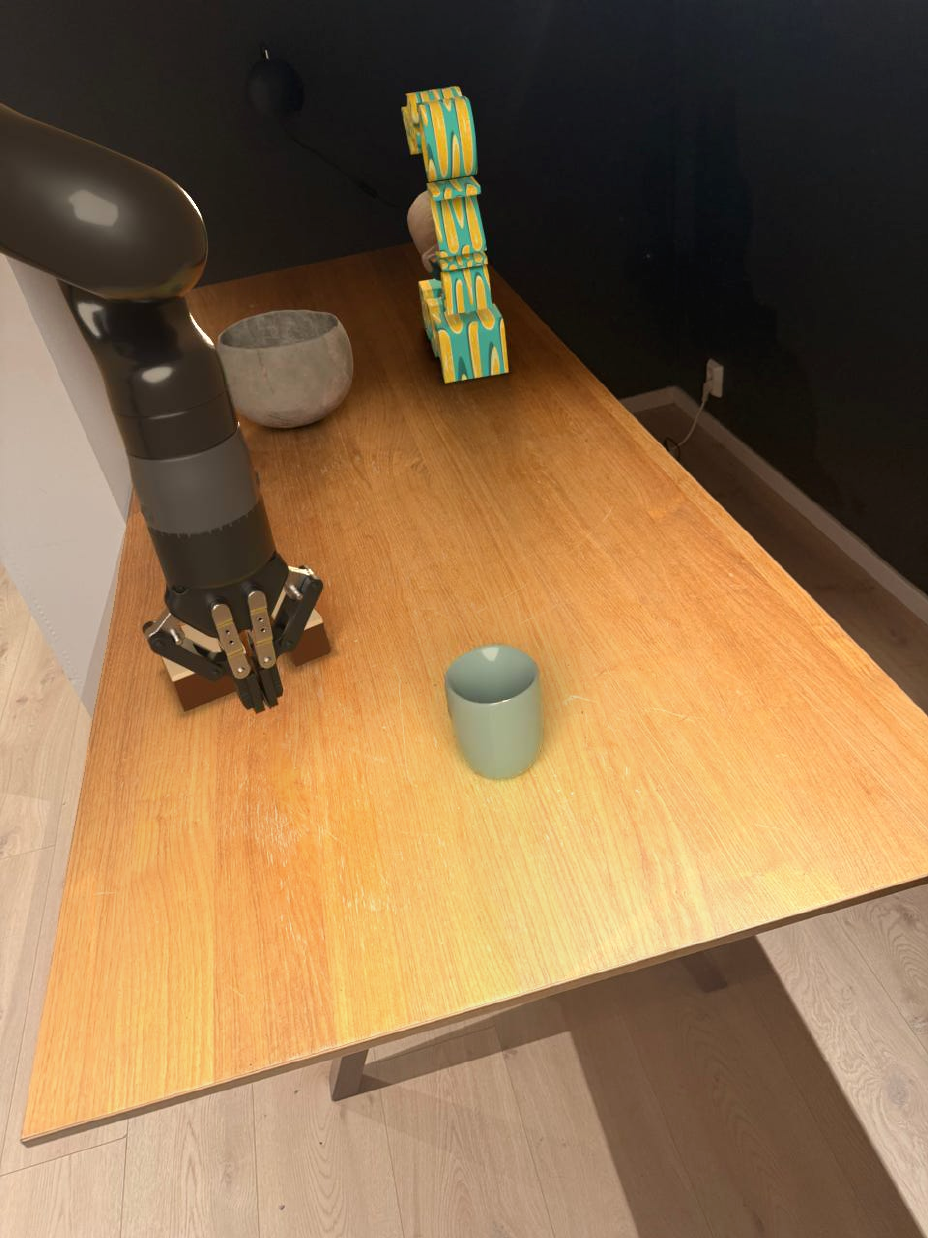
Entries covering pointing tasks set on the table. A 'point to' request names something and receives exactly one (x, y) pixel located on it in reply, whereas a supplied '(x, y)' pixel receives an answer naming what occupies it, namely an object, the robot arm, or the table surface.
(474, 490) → the table surface
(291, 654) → the slice
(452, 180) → the party decoration
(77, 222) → the robot arm
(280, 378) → the bowl
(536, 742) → the cup
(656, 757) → the table surface
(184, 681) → the cake
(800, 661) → the table surface
